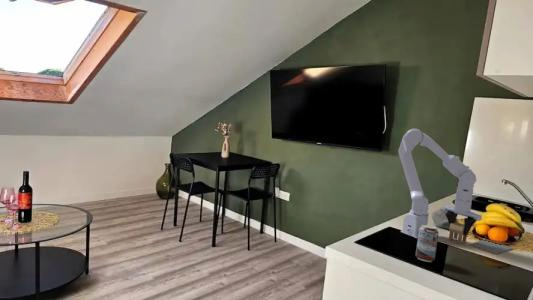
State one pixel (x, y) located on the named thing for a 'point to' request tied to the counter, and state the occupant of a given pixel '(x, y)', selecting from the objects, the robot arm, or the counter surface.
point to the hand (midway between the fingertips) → (458, 232)
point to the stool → (457, 232)
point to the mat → (491, 247)
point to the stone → (441, 219)
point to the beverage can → (427, 243)
